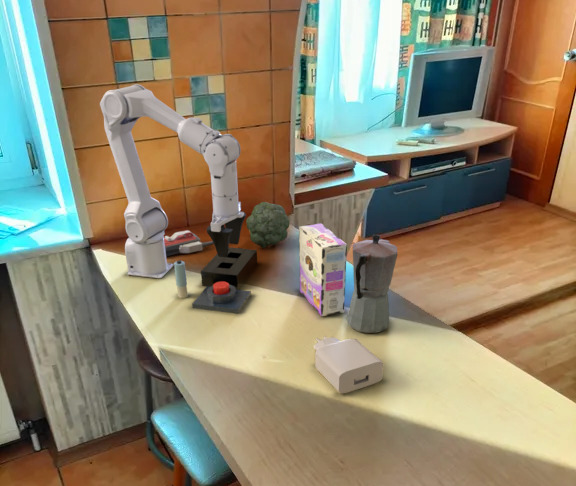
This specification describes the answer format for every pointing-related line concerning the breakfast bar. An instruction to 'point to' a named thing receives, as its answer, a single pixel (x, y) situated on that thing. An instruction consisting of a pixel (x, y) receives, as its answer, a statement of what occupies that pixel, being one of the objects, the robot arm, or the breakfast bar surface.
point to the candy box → (322, 268)
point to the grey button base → (222, 300)
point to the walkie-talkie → (183, 243)
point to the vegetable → (267, 224)
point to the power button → (221, 288)
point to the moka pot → (371, 284)
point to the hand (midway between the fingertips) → (228, 249)
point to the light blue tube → (181, 279)
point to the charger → (347, 364)
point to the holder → (230, 267)
